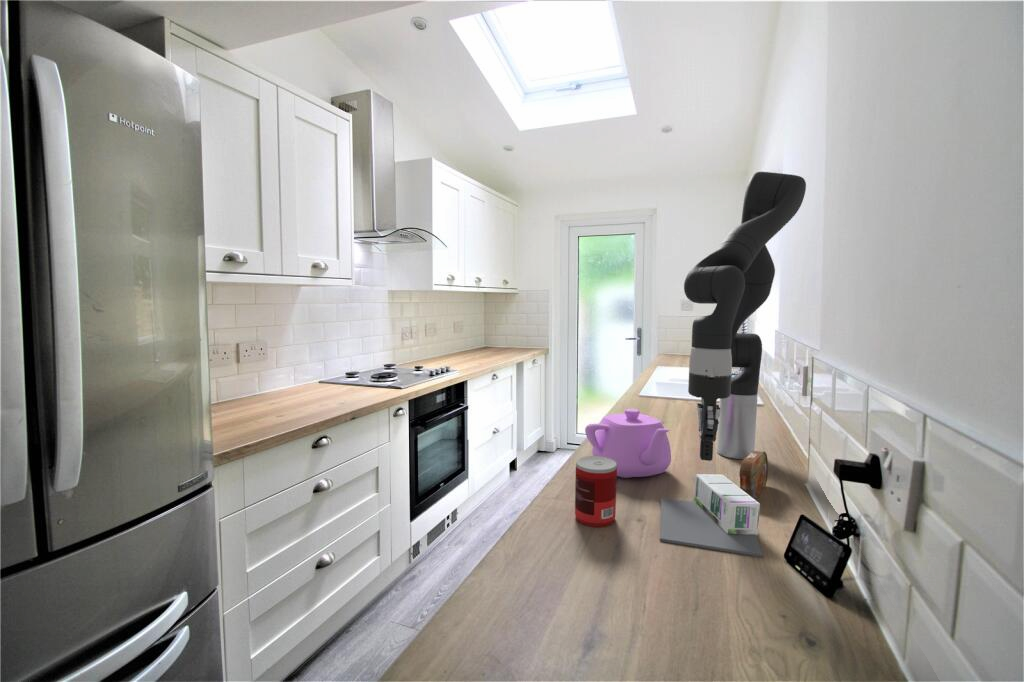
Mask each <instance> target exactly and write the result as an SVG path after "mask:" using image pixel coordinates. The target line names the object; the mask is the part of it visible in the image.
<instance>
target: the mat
mask: <svg viewBox="0 0 1024 682" xmlns="http://www.w3.org/2000/svg"><path fill="white" fill-rule="evenodd" d="M659 523H660V525H659V526H660V527H659V530H660V531H659V532H660V533H659V541H660V542H664V543H670V544H677V545H682V546H683V545H684V546H689V547H696V548H702V549H706V550H707V549H708V550H714V551H715V550H716V551H721V552H728V553H733V554H739V555H740V554H741V555H745V556H752V557H757V558H758V557H759V558H763V552H762V550H761V546H760V544H759V542H758V539H757V536H756V534H749V535H748V534H747V535H746V534H745V535H741V534H727V533H726V532H725V531H724V530H723V529H722V528H721V527H720V526H719V525H718V524H717V523H716V522H715V521H714V520H713V519H712V518H711V517H710V516H709V515H708V514H707V513H706V511H705V510H704V509H703V508H702V507H701V506H700V505H699V504H698V503H697V502H696V501H690V500H685V499H684V500H682V499H675V498H668V497H661V499H660V522H659Z"/></svg>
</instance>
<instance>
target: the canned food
mask: <svg viewBox="0 0 1024 682" xmlns="http://www.w3.org/2000/svg"><path fill="white" fill-rule="evenodd" d="M617 477H618V476H617V464H616V462H615V461H614V460H612V459H609V458H606V457H600V456H593V455H589V456H583V457H580V458H578V459H576V462H575V486H574V487H575V488H574V489H575V493H574V494H575V495H574V499H575V500H574V516H575V519H576V520H577V521H578V522H579V523H581V524H582V525H585V526H587V527H591V528H592V527H593V528H602V527H604V528H605V527H608V526H610V525H611V524H613V522H614V521H615V518H616V509H617V508H616V507H617V505H616V504H617V503H616V502H617V481H618V479H617Z"/></svg>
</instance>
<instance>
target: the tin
mask: <svg viewBox="0 0 1024 682" xmlns="http://www.w3.org/2000/svg"><path fill="white" fill-rule="evenodd" d="M768 459H769V458H768V455H767V452H765V451H758V450H754V451H752V452H751V453H749V454H748V455H747V456H746V457H745V459H742V461H741V463H740V466H739V474H738V475H739V488H740V489H742V490H743V491H744V492H746V493H747V494H748V495H749V496H751V497H752V498H753V499H755V500H756V501H757V499H758V498H759V496H760V495H761V493H762V492H763V491H764V490H765V489H766V486H767V481H768V474H769V472H768V471H769V462H768V461H769V460H768Z"/></svg>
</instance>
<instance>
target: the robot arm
mask: <svg viewBox="0 0 1024 682" xmlns="http://www.w3.org/2000/svg"><path fill="white" fill-rule="evenodd" d="M806 190H807V183H806V180H805V178H804V177H802V176H800V175H796V174H788V173H780V172H771V171H757V172H755V173H753V175H751V177H750V179H749V180H748V183H747V185H746V189H745V193H744V198H743V204H742V205H743V206H742V214H741V223H740V224H739V225H738V226H736V227H734V228H733V229H732V230H731V231H729V232H728V233H727V234H726V235H725V237H724V239H723V240H722V242H721V243H720V244H719V245H718V247H717V248H716V250H714V251H712V252H711V253H710V254H707V256H705V257H704V258H703V259H701V260H700V261H699V262H697V263H695V265H694V266H693V267H692V268H690V270H689V271H688V273H687V275H686V277H685V280H684V284H683V291H684V294H685V296H686V298H687V299H688V300H689V301H690V302H692V303H693V304H694V303H695V304H702V305H703V304H711V305H712V304H714V305H715V304H716V306H715V308H714V310H713V311H712V313H710V314H709V315H703V316H698V317H696V318H695V319H694V320H693V321H692V327H691V348H690V349H691V350H690V355H689V361H688V362H689V363H688V386H687V387H688V389H687V392H688V394H689V395H691V396H692V397H694V398H695V397H696V398H700V403H699V402H697V403H696V412H697V426H698V432H699V434H698V437H699V441H700V442H699V443H700V444H699V458H700V460H701V461H706V462H707V461H708V462H709V461H710V462H711V461H712V460H713V453H714V442H716V440H717V445H716V450H717V451H716V452H717V453H718V454H719V455H720V456H723V457H726V458H729V459H737V460H744V459H745V457H746V456H747V455H748V454H749V453H751V452H752V451H756V450H755V449H756V448H755V447H756V445H755V444H756V433H757V432H756V430H757V429H756V428H757V413H758V412H757V411H758V394H759V393H758V392H759V384H760V373H761V362H762V353H763V342H762V339H761V337H760V336H759V334H757V333H749V332H748V333H747V332H745V333H744V332H738V331H739V329H740V327H741V326H742V325H743V324H744V322H746V320H747V319H748V318H750V316H751V315H753V314H754V313H755V312H756V311H757V310H758V309H759V308H760V307H761V306H762V305H763V304H765V302H766V301H767V300H768V298H769V297H770V294H771V292H772V291H771V290H772V287H773V282H774V279H775V274H776V268H775V263H774V260H773V258H772V255H771V254H770V251H769V250H768V246H767V245H766V244H767V243H769V241H770V240H771V239H772V238H774V236H776V235H777V234H778V233H779V232H780V231H781V230H782V229H783V228H784V227H785V226H786V225H787V224H788V223H789V222H790V221H791V220H792V219H793V218H794V217H795V216H796V214H797V213H798V212H799V209H800V208H801V206H802V203H804V197H805V196H806V195H805V194H806ZM732 368H743V369H742V370H741V372H740V373H738V374H737V375H734V376H732V371H733V370H732ZM718 399H719V404H717V401H718Z"/></svg>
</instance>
